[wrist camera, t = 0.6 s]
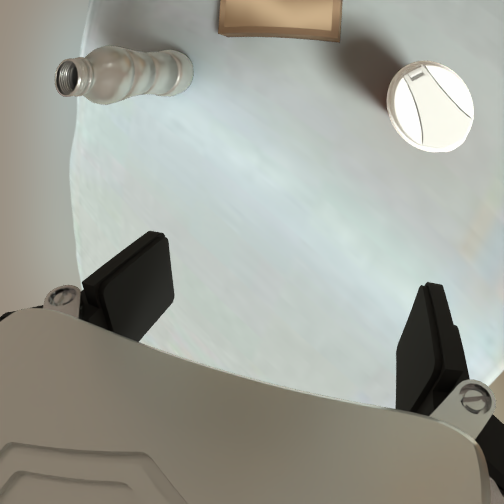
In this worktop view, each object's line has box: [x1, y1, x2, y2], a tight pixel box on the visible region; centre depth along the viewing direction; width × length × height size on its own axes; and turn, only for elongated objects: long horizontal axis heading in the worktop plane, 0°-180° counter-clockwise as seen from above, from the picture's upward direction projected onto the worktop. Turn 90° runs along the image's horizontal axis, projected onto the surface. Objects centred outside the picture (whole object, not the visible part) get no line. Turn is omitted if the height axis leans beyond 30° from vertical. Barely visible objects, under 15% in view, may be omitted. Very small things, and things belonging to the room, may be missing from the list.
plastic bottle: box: [55, 45, 194, 105], centre depth 30 cm, size 6×7×20 cm
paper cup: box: [387, 61, 474, 152], centre depth 26 cm, size 8×8×14 cm
